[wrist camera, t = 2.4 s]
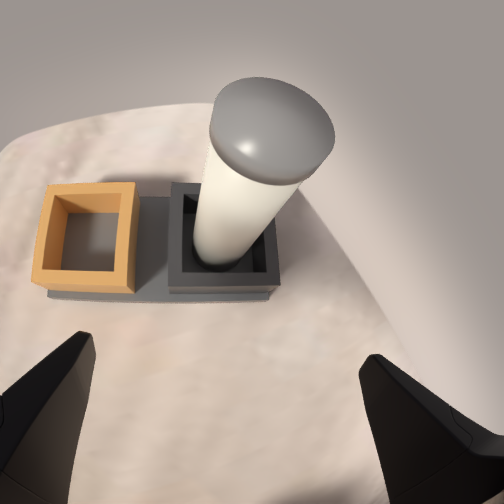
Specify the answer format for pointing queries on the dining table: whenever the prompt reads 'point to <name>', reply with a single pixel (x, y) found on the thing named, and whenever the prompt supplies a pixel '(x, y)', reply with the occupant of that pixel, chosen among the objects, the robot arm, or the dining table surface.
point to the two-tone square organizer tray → (139, 249)
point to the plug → (255, 164)
